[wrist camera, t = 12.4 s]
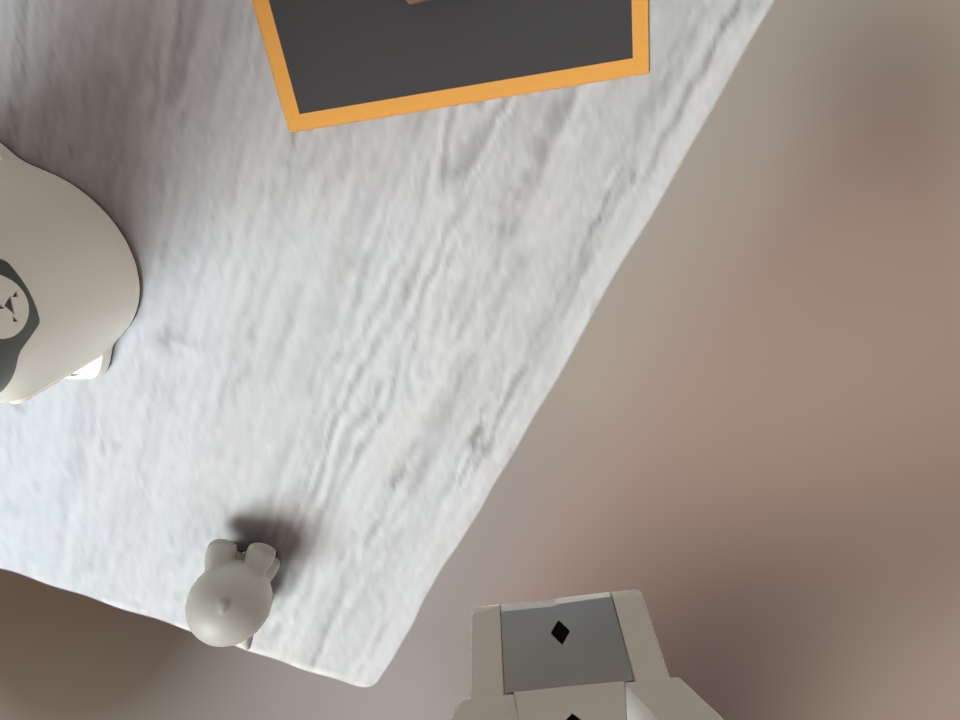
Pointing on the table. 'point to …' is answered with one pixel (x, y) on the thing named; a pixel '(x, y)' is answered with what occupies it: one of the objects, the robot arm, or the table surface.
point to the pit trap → (440, 52)
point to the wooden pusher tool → (416, 1)
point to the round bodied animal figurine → (232, 593)
